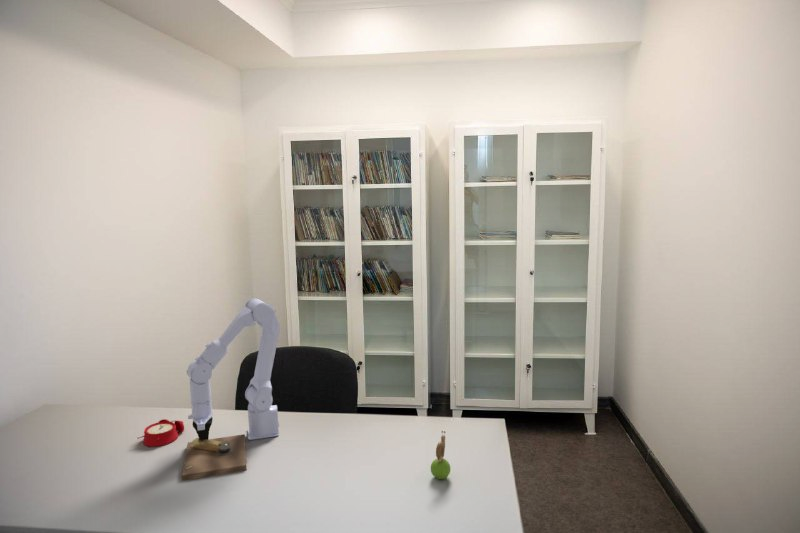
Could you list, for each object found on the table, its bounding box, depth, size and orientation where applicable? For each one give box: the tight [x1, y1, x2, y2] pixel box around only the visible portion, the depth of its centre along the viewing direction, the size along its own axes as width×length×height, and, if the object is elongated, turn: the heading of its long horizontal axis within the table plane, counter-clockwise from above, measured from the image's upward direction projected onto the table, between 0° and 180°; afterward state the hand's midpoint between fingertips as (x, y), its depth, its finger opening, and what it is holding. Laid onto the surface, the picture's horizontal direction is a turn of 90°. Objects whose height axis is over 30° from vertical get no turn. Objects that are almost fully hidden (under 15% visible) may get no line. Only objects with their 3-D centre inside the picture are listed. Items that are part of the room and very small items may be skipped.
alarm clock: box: [137, 418, 185, 448], centre depth 172 cm, size 10×6×15 cm
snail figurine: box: [430, 430, 451, 480], centre depth 145 cm, size 5×6×12 cm
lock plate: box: [181, 434, 247, 481], centre depth 158 cm, size 17×20×2 cm
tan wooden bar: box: [191, 437, 230, 454], centre depth 159 cm, size 12×3×2 cm, turn 72°
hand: (204, 442), depth 163 cm, fingers closed, pressing on tan wooden bar
